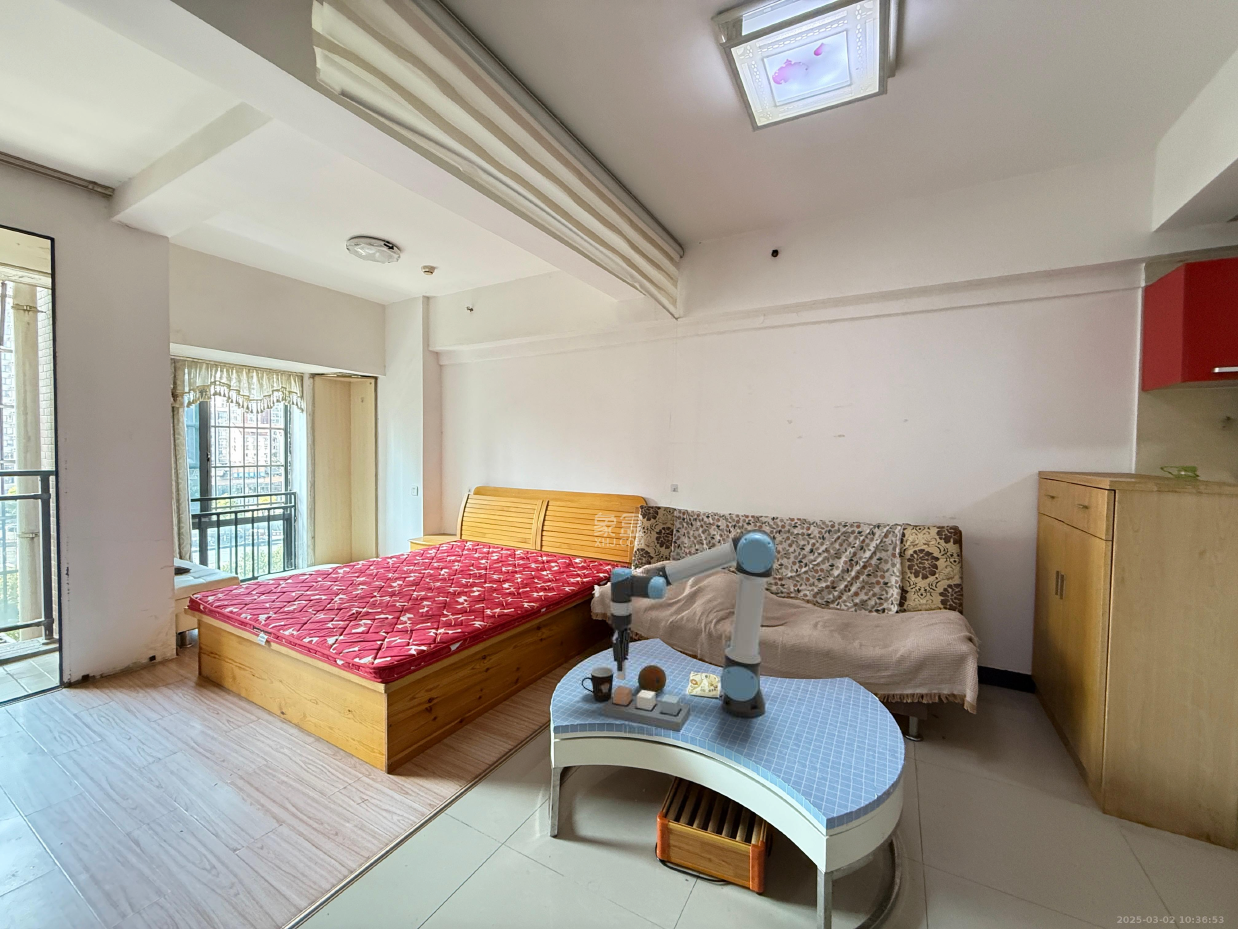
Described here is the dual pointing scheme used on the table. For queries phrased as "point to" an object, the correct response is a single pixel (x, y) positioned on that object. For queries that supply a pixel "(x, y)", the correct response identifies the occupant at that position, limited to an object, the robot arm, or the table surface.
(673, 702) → the key slate
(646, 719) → the grey slotted tray
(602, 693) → the coffee mug
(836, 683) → the table surface
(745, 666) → the robot arm
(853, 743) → the table surface
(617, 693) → the key terracotta
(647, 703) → the key ivory
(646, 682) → the fruit
